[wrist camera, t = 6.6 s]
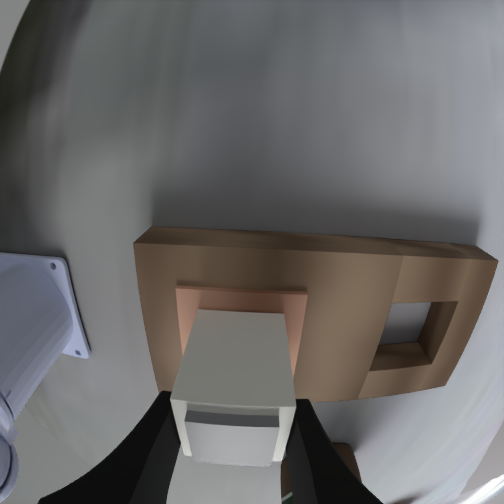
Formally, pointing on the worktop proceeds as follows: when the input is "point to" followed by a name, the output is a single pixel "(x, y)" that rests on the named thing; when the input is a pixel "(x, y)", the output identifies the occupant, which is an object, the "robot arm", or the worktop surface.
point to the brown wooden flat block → (316, 302)
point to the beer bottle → (343, 451)
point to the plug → (235, 389)
